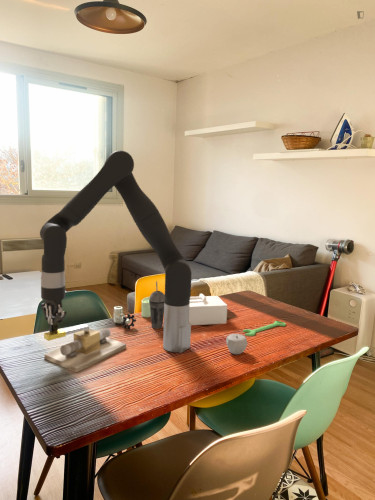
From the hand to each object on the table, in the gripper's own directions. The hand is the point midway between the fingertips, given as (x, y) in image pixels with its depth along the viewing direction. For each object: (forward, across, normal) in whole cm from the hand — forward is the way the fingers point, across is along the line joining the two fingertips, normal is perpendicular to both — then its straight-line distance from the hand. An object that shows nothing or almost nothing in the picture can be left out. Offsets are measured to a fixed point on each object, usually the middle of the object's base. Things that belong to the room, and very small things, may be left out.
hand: (53, 333), depth 125 cm
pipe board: (+8, -4, -10) cm, 14 cm away
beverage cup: (+8, -2, -46) cm, 46 cm away
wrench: (+8, -35, -78) cm, 86 cm away
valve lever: (+1, -4, -3) cm, 5 cm away
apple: (+8, -40, -50) cm, 64 cm away
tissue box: (+9, -7, -65) cm, 66 cm away
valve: (+9, +9, -36) cm, 39 cm away
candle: (+9, +11, -52) cm, 53 cm away
